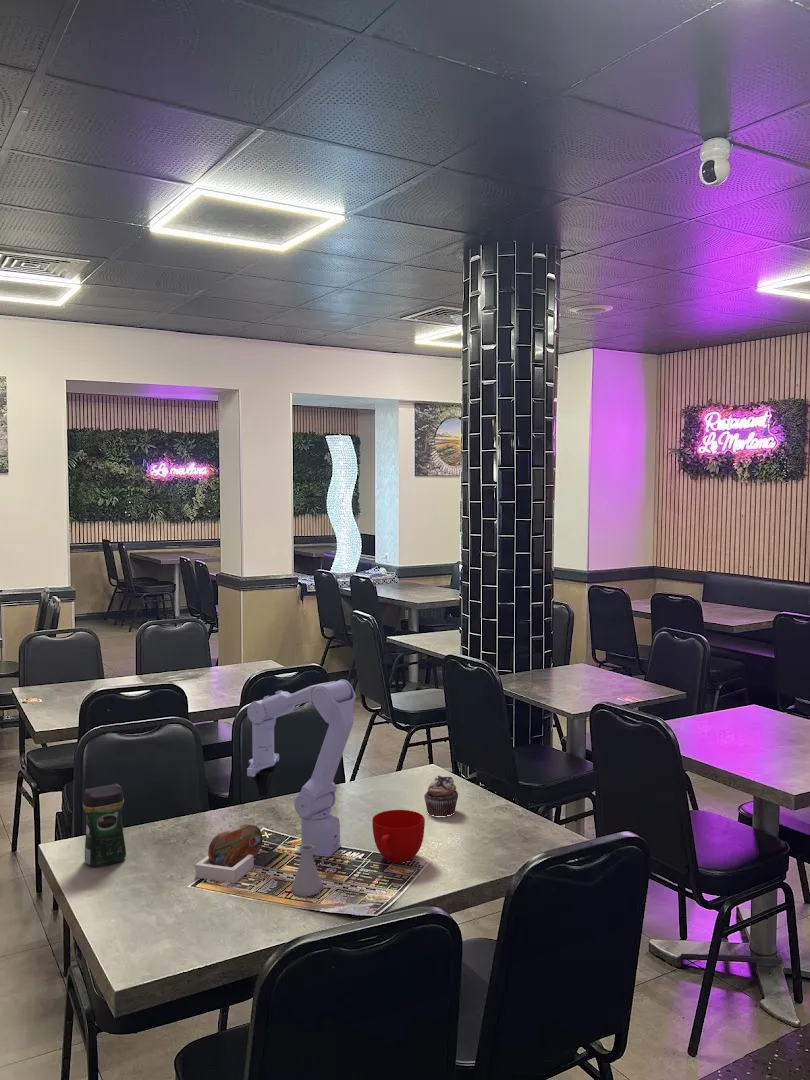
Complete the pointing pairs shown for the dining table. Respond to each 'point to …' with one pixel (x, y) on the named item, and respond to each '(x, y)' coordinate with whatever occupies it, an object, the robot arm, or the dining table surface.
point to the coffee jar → (104, 825)
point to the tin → (235, 845)
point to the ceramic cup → (398, 834)
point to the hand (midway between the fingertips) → (263, 795)
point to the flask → (307, 874)
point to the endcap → (223, 870)
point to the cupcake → (441, 797)
